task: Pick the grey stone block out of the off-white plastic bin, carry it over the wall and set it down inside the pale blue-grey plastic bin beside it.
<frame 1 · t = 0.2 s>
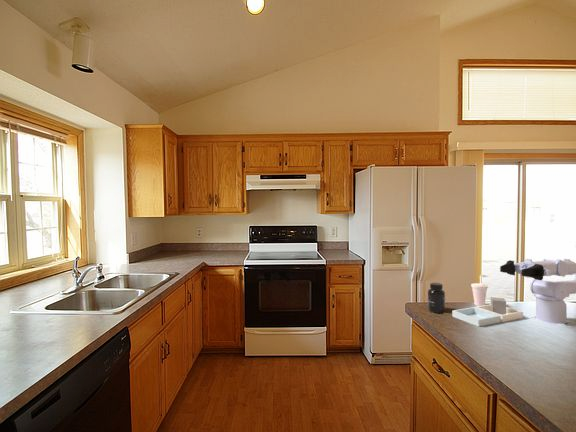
hand: (511, 270, 107), 21 cm above the worktop, fingers open, 7 cm apart
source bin: (498, 316, 119), on the worktop
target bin: (475, 320, 115), on the worktop
smoothie: (479, 306, 133), on the worktop
supplement bottle: (436, 311, 128), on the worktop
stone block: (498, 315, 119), point 1 cm above the worktop, touching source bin
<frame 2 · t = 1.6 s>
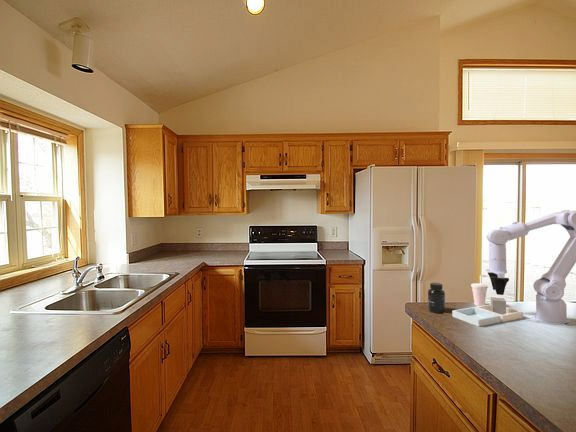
hand: (498, 292, 119), 10 cm above the worktop, fingers open, 7 cm apart
nothing on the worktop moved.
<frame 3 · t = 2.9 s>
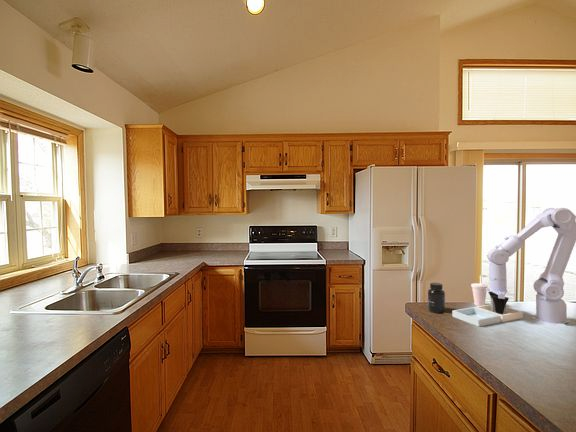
hand: (498, 311, 119), 2 cm above the worktop, fingers closed on stone block, 4 cm apart
stone block: (498, 315, 119), point 1 cm above the worktop, touching gripper, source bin
everything else where it was.
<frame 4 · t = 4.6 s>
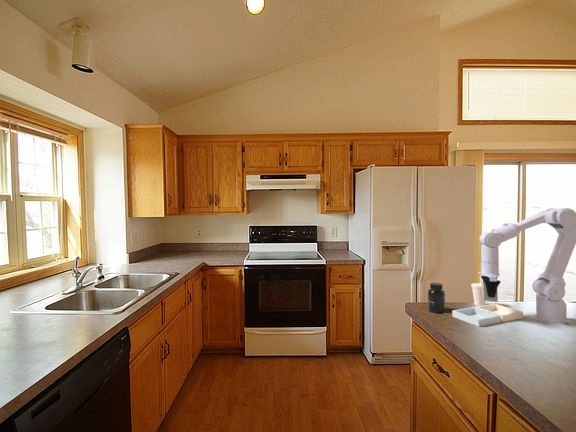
hand: (490, 295, 118), 9 cm above the worktop, fingers closed on stone block, 4 cm apart
stone block: (489, 299, 118), point 7 cm above the worktop, touching gripper
everything else where it was.
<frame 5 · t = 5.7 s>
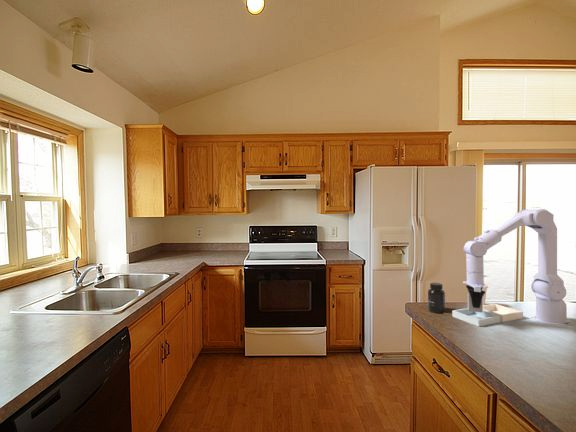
hand: (475, 305, 115), 6 cm above the worktop, fingers closed on stone block, 4 cm apart
stone block: (474, 310, 115), point 4 cm above the worktop, touching gripper
everything else where it was.
when the fingers open (3 cm above the worktop, at t = 6.6 s): stone block drops 1 cm, resting on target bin.
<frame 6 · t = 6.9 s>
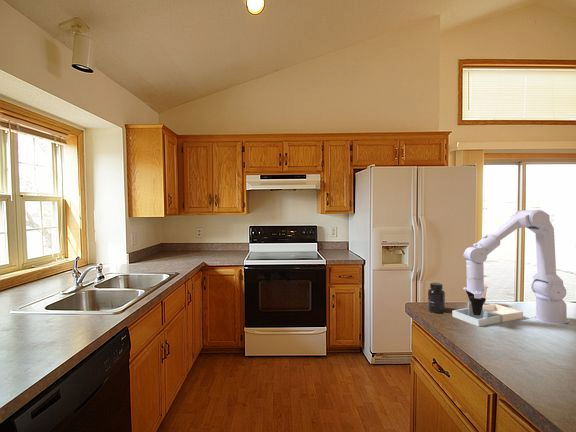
hand: (475, 311, 115), 4 cm above the worktop, fingers open, 7 cm apart
stone block: (475, 319, 115), point 1 cm above the worktop, touching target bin
everything else where it was.
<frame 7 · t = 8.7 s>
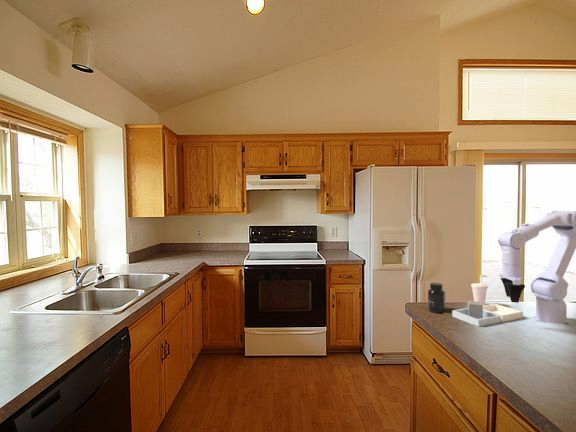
hand: (512, 299, 111), 9 cm above the worktop, fingers open, 7 cm apart
nothing on the worktop moved.
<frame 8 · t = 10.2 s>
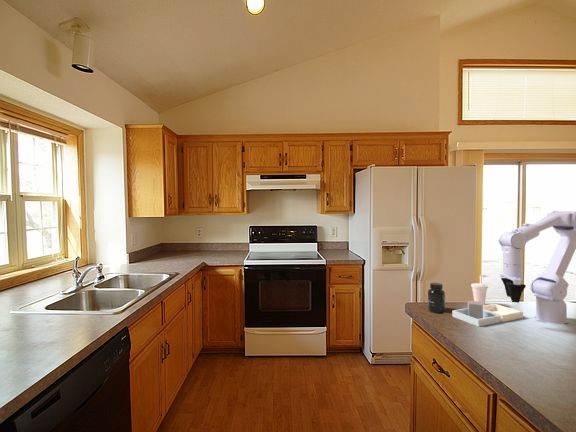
hand: (512, 299, 111), 9 cm above the worktop, fingers open, 7 cm apart
nothing on the worktop moved.
at the end: stone block inside the target area on the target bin (0.1 cm from its centre), point 0.6 cm above the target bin's base; stone block tilted 0°; the gripper is holding nothing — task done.
